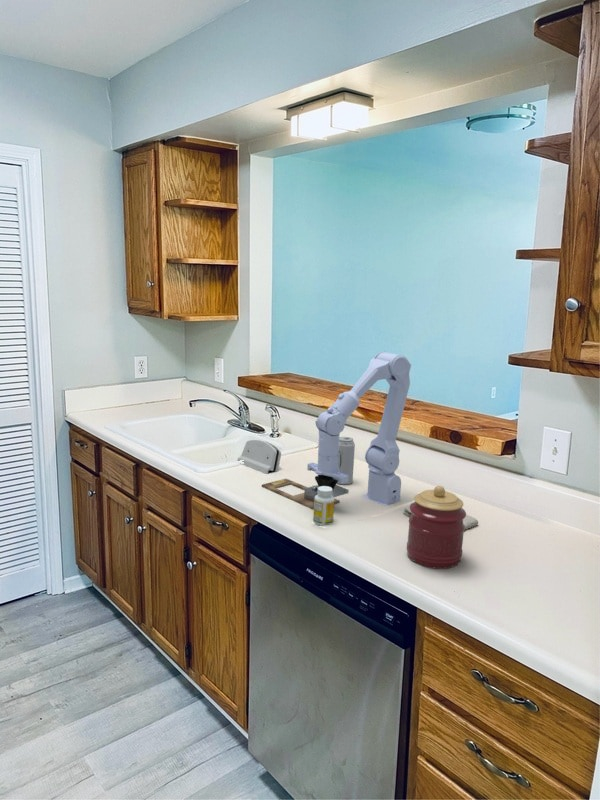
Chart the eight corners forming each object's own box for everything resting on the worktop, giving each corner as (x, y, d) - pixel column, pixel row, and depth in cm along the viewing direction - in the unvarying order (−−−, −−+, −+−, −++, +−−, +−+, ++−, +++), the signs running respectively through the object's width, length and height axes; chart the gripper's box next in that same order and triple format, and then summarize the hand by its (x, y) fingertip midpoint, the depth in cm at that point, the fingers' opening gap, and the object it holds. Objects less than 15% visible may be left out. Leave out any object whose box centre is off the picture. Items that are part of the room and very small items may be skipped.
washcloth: (425, 506, 172) (426, 496, 172) (479, 526, 159) (481, 516, 159) (400, 516, 164) (401, 505, 164) (455, 538, 151) (456, 527, 151)
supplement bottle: (313, 526, 154) (314, 491, 152) (313, 518, 159) (314, 484, 157) (333, 526, 154) (335, 492, 152) (332, 518, 159) (334, 485, 157)
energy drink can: (329, 482, 188) (332, 437, 186) (344, 479, 192) (346, 435, 189) (342, 488, 184) (344, 442, 181) (356, 484, 187) (359, 439, 184)
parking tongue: (348, 494, 178) (348, 489, 178) (332, 499, 173) (332, 494, 173) (329, 487, 184) (330, 482, 184) (313, 492, 179) (314, 487, 179)
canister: (416, 540, 148) (422, 473, 144) (467, 553, 142) (474, 484, 138) (398, 559, 137) (403, 488, 133) (452, 575, 130) (459, 500, 127)
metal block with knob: (328, 499, 170) (329, 487, 169) (316, 503, 167) (316, 491, 166) (316, 494, 174) (317, 483, 173) (304, 498, 170) (304, 486, 170)
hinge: (236, 462, 206) (244, 435, 206) (245, 464, 209) (253, 437, 210) (267, 474, 194) (275, 445, 195) (276, 476, 198) (285, 447, 198)
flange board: (339, 504, 170) (339, 499, 170) (314, 512, 163) (315, 507, 163) (285, 482, 187) (286, 477, 187) (261, 488, 181) (261, 483, 180)
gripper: (300, 450, 167) (298, 495, 169) (336, 463, 156) (334, 511, 159) (318, 446, 171) (316, 490, 174) (354, 458, 161) (351, 505, 163)
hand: (325, 500), depth 167 cm, fingers closed
